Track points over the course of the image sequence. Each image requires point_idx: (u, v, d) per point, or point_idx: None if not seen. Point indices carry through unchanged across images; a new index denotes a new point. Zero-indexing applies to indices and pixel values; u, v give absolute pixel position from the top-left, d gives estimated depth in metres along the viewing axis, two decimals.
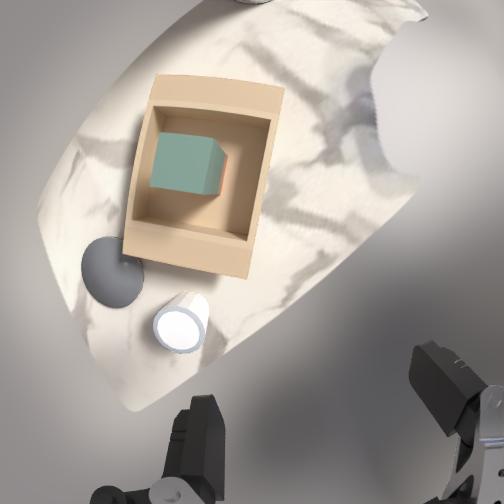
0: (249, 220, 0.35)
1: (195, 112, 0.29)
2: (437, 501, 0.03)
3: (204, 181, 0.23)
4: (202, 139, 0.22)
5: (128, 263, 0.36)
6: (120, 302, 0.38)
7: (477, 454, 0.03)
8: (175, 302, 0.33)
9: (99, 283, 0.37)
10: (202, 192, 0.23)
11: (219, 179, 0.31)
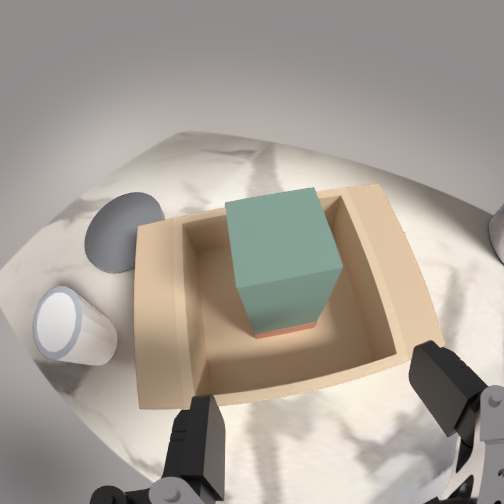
0: (233, 391, 0.21)
1: (355, 253, 0.22)
2: (437, 501, 0.03)
3: (261, 282, 0.12)
4: (332, 250, 0.13)
5: (135, 246, 0.28)
6: (90, 249, 0.29)
7: (477, 454, 0.03)
8: (90, 313, 0.20)
9: (108, 219, 0.31)
10: (240, 286, 0.12)
11: (276, 325, 0.20)
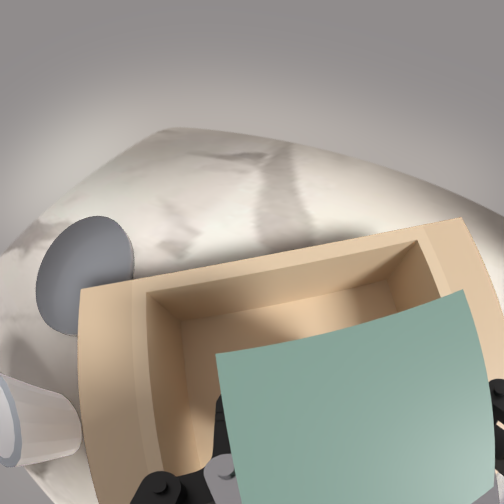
0: None
1: None
2: None
3: None
4: (486, 465, 0.02)
5: None
6: (41, 298, 0.18)
7: None
8: (33, 412, 0.10)
9: (63, 255, 0.20)
10: None
11: None
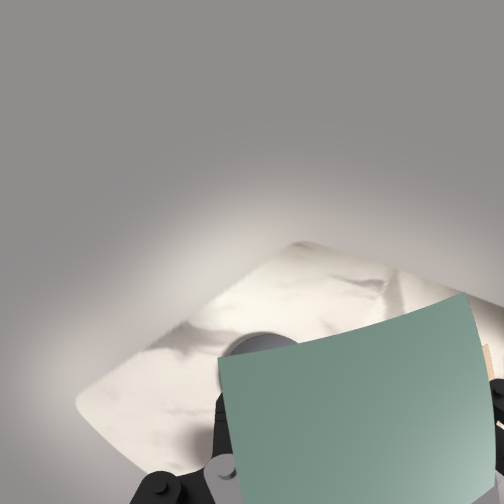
0: None
1: None
2: None
3: None
4: (487, 467, 0.02)
5: None
6: None
7: None
8: None
9: None
10: None
11: None
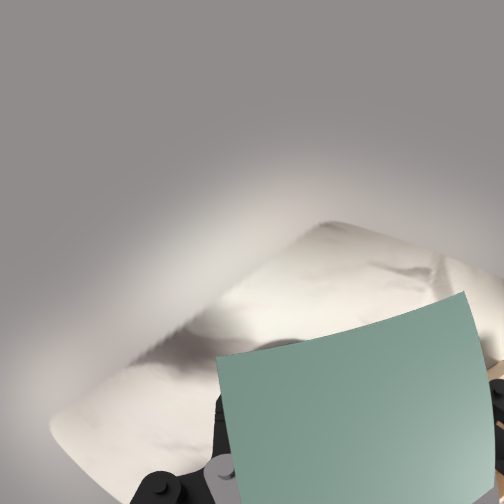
0: None
1: None
2: None
3: None
4: (486, 467, 0.02)
5: None
6: None
7: None
8: None
9: None
10: None
11: None
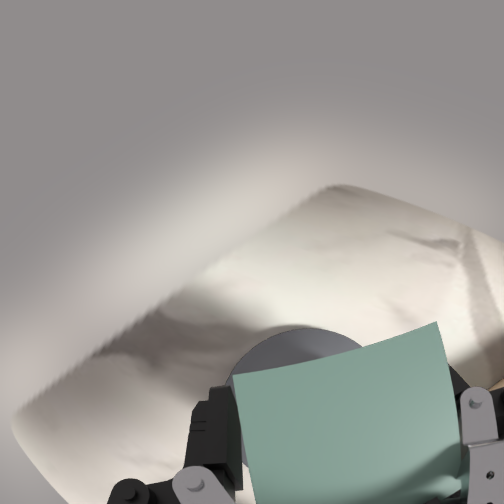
0: None
1: None
2: (437, 501, 0.03)
3: None
4: (453, 467, 0.03)
5: None
6: None
7: (462, 458, 0.03)
8: None
9: None
10: None
11: None
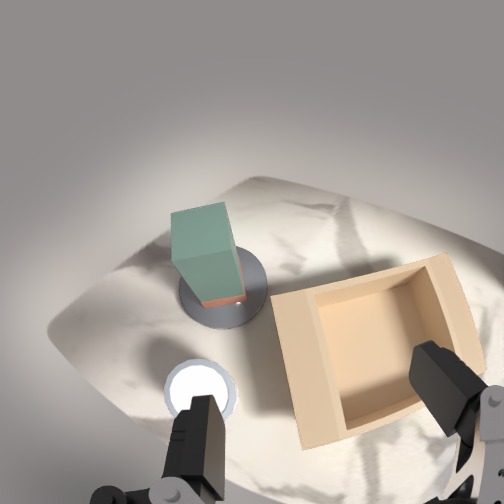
0: (350, 418, 0.24)
1: (432, 309, 0.26)
2: (437, 501, 0.03)
3: (184, 258, 0.22)
4: (226, 240, 0.22)
5: (245, 304, 0.32)
6: (190, 305, 0.32)
7: (477, 454, 0.03)
8: None
9: None
10: (173, 260, 0.22)
11: (213, 295, 0.29)
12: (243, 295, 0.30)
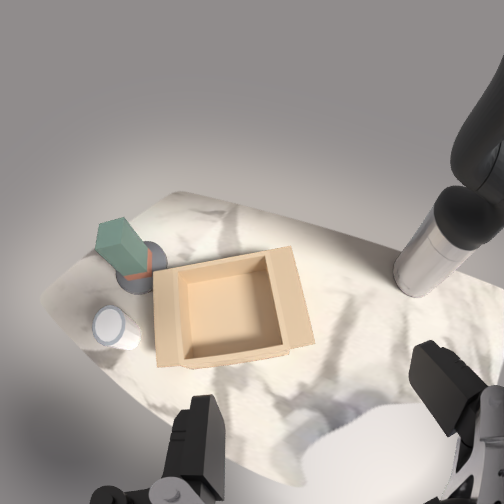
0: None
1: (271, 289, 0.41)
2: (437, 501, 0.03)
3: (100, 248, 0.38)
4: (119, 238, 0.38)
5: (150, 279, 0.48)
6: (121, 279, 0.48)
7: (477, 454, 0.03)
8: (128, 319, 0.40)
9: None
10: (96, 249, 0.38)
11: (128, 271, 0.45)
12: (146, 272, 0.46)
